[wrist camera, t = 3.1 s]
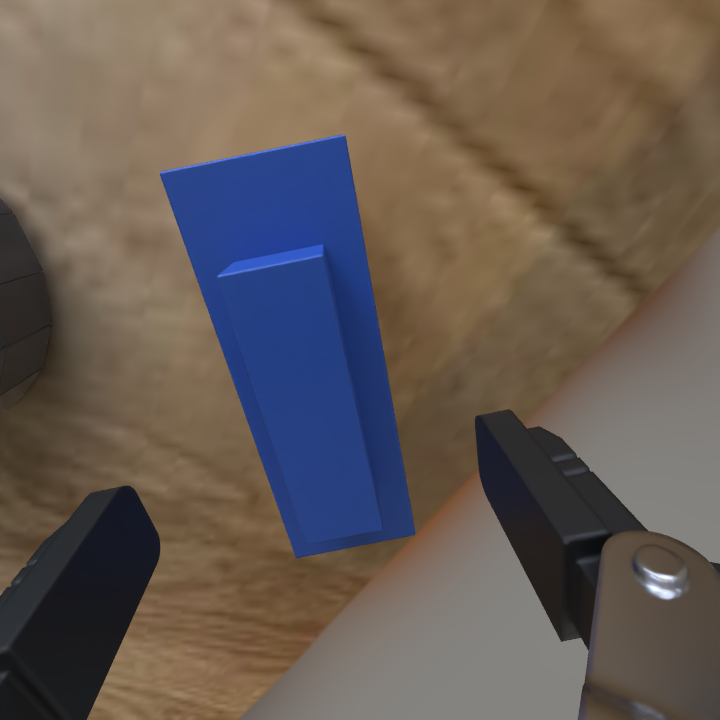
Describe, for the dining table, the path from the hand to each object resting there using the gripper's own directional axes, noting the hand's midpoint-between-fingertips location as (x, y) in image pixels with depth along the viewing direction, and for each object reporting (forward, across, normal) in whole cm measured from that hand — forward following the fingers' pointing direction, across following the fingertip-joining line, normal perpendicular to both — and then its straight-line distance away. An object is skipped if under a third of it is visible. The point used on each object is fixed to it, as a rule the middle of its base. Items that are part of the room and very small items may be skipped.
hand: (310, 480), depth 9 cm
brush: (+8, 0, 0) cm, 8 cm away
